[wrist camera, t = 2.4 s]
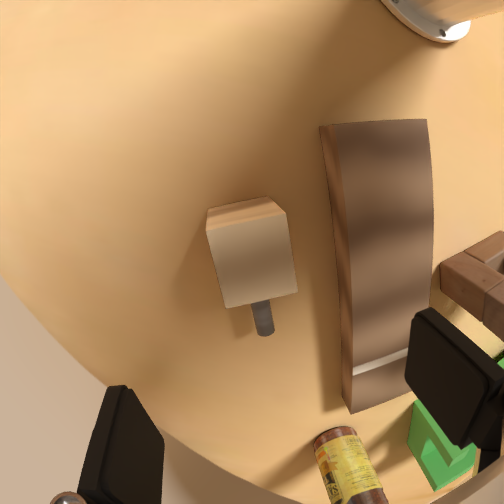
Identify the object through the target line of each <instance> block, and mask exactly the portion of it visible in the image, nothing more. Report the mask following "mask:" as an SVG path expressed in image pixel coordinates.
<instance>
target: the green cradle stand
mask: <svg viewBox="0 0 504 504" xmlns="http://www.w3.org/2000/svg"><path fill="white" fill-rule="evenodd" d="M498 364H499V365H500V366H501V367H502V368H503V369H504V358H503V359H501V360H500V361H499V362H498ZM407 444H408V446H409V448H410V450H411V451H412V453H413V455H414V457H415V458H416V460H417V462H418V464H419V465H420V467H421V469H422V471H423V473H424V474H425V476H426V478H427V480H428V481H429V483H430V485H431V487H432V489H433V491H434V492H435V491H437V490H439V489H441V488H442V487H444V486H446V485H447V484H449V483H450V482H452V481H454V480H455V479H457V478H458V477H460V476H461V475H463V474H464V473H466V472H467V471H469V470H470V469H471V467H472V466H473V465H474V462H475V455H476V448H477V447H476V446H475V444H474V443H471V444H470V445H468V446H467V447H465V448H464V449H462V450H460V448H459V447H458V446H457V445H456V446H455V445H453V444H452V443H451V442H450V441H449V439H448V438H447V436H446V435H445V434H444V432H443V431H442V430H441V428H440V427H439V426H438V424H437V423H436V421H435V420H434V419H433V417H432V416H431V415H430V413H429V412H428V411H427V409H426V408H425V407H424V405H423V404H422V403H421V401H420V400H419V399H417V400H416V401H414V405H413V412H412V418H411V424H410V430H409V436H408V441H407Z"/></svg>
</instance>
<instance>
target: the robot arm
mask: <svg viewBox="0 0 504 504" xmlns="http://www.w3.org/2000/svg"><path fill="white" fill-rule="evenodd" d="M381 1H382V2H383V4H384V5H385V6H386V7H387V8H388V9H389V10H390V11H391V13H393V14H394V15H395V16H396V17H397V18H398V19H399V20H400V21H401V22H402V23H404V24H405V25H406V26H408V27H409V28H410V29H412V30H413V31H415V32H416V33H418V34H420V35H421V36H423V37H425V38H428V39H430V40H432V41H436V42H440V43H450V42H454V41H458V40H460V39H462V38H464V37H465V36H466V34H467V33H468V31H469V29H470V24H471V20H472V19H476V18H479V17H483V16H486V15H490V14H494V13H498V12H502V11H504V0H381ZM404 377H405V381H406V383H407V384H408V386H409V387H410V388H411V390H412V391H413V392H414V394H415V395H416V396H417V398H418V399H419V400H420V401H421V403H422V404H423V405H424V407H425V408H426V409H427V411H428V412H429V413H430V415H431V416H432V417H433V419H434V420H435V421H436V423H437V424H438V426H439V427H440V428H441V430H442V431H443V432H444V434H445V435H446V436H447V438H448V439H449V441H450V442H451V443H452V444H453V445H455V446H456V445H457V446H458V447H459V448H460V450H462V449H464V448H465V447H467V446H468V445H470V444H471V443H474V444H475V446H476V447H477V448H476V455H475V462H474V469H473V475H472V478H471V479H470V480H468V481H467V482H465V483H464V484H462V485H460V486H459V487H458V488H456V489H454V490H453V491H451V492H449V493H448V494H446V495H444V496H443V497H441V498H439V499H438V500H436V501H434V502H432V503H430V504H504V369H503V368H502V367H501V366H500V365H499V364H498V363H496V362H495V361H494V360H493V359H492V358H491V357H490V356H489V355H488V354H486V353H485V352H484V351H483V350H482V349H481V348H480V347H478V346H477V345H476V344H475V343H474V342H473V341H472V340H470V339H469V338H468V337H467V336H466V335H465V334H463V333H462V332H461V331H460V330H459V329H458V328H456V327H455V326H454V325H453V324H452V323H450V322H449V321H448V320H447V319H446V318H444V317H443V316H442V315H441V314H440V313H438V312H437V311H436V310H435V309H433V308H432V307H429V308H426V309H424V310H421V311H419V312H417V313H415V315H414V318H413V319H412V320H411V328H410V337H409V346H408V353H407V360H406V367H405V373H404ZM164 447H165V446H164V439H163V437H162V435H161V434H160V433H159V431H158V429H157V428H156V426H155V425H154V423H153V422H152V420H151V419H150V417H149V416H148V414H147V412H146V411H145V409H144V408H143V406H142V404H141V403H140V401H139V399H138V398H137V396H136V394H135V393H134V391H133V390H132V389H128V387H127V386H125V385H118V386H109V387H108V388H107V390H106V393H105V396H104V399H103V402H102V405H101V408H100V411H99V415H98V418H97V421H96V425H95V428H94V430H93V432H92V436H91V439H90V442H89V446H88V450H87V453H86V457H85V461H84V464H83V468H82V472H81V476H80V480H79V485H78V489H77V493H74V492H70V491H69V492H63V493H60V494H58V495H57V496H55V497H54V498H53V499H52V501H51V502H50V504H161V497H162V477H163V461H164Z"/></svg>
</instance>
